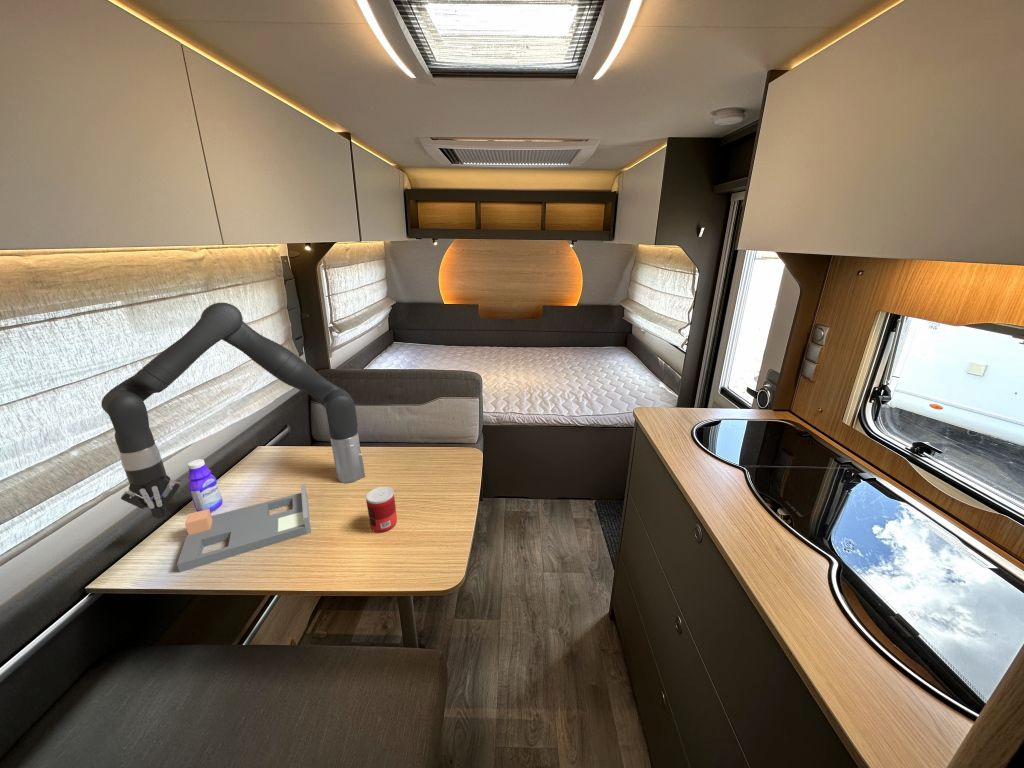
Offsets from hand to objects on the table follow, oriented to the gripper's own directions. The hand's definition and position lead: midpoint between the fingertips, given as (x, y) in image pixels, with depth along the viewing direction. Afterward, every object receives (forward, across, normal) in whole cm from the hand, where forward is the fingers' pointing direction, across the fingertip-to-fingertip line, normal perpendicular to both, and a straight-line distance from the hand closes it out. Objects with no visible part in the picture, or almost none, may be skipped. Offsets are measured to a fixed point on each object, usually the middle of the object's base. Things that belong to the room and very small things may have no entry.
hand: (161, 516), depth 111 cm
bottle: (+9, -8, -14) cm, 18 cm away
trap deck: (+9, -20, +5) cm, 22 cm away
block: (+6, -8, 0) cm, 10 cm away
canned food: (+9, -56, +22) cm, 61 cm away
